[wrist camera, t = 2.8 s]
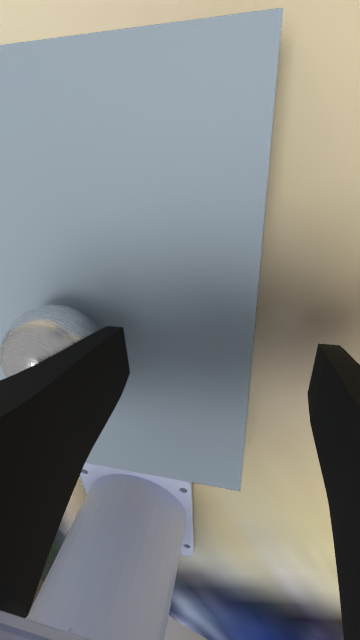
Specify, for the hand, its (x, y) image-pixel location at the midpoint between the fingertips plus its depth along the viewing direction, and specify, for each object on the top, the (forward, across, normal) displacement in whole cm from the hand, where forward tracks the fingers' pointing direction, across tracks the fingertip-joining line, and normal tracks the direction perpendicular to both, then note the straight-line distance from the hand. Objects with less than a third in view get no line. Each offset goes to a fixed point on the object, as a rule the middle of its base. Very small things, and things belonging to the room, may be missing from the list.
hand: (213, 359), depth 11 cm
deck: (+4, +12, 0) cm, 12 cm away
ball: (0, +6, 0) cm, 6 cm away
